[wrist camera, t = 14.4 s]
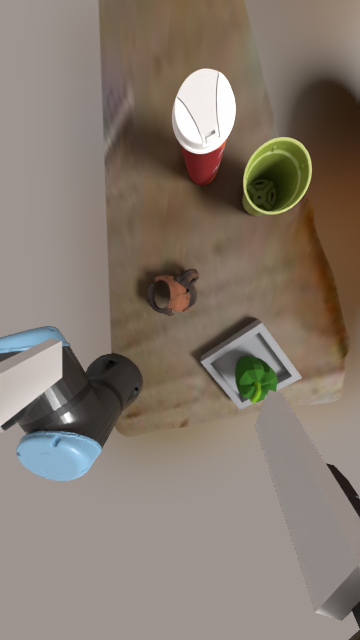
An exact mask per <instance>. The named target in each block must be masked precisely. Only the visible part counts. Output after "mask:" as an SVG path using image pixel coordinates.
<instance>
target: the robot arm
mask: <svg viewBox="0 0 360 640" xmlns="http://www.w3.org/2000/svg"><path fill="white" fill-rule="evenodd" d="M142 384H143V380H142V375H141V373H140V371H139V369H138V368H137V366H136V365H135V364H134V363H133V362H132V361H130V360H129V359H127V358H126V357H123V356H121V355H117V354H107V355H103V356H100V357H99V358H97V359H96V360H95V361H94V362H93V363H92V364H91V365H90V366H89V367H88V369H87V371H86V373H85V372H84V370H83V368H82V366H81V365H80V363H79V361H78V360H77V358H76V356H75V354H74V353H73V351H72V349H71V348H70V344H69V343H67V341H66V340H65V338H64V337H63V335H62V334H61V332H60V331H59V330H58V329H57V328H55V327H51V326H45V327H40V328H36V329H31V330H27V331H23V332H19V333H15V334H12V335H9V336H5V337H1V338H0V433H1V432H3V431H5V430H7V429H8V428H10V427H11V426H13V425H14V424H16V423H18V424H19V425H20V426H21V428H22V429H23V430H24V432H25V433H26V435H25V436H24V437H22V438H21V440H20V442H19V444H18V445H17V448H16V452H17V458H18V459H19V461H20V462H21V464H22V465H24V466H25V467H26V468H27V469H28V470H30V471H31V472H33V473H35V474H37V475H39V476H41V477H45V478H48V479H51V480H59V481H67V480H73V479H76V478H78V477H80V476H82V475H83V474H85V473H86V472H87V471H88V470H89V468H90V467H91V465H92V464H93V462H94V460H95V459H96V457H97V456H98V455H99V454H100V453H101V449H102V448H103V446H104V444H105V442H106V440H107V438H108V437H109V435H110V433H111V431H112V429H113V427H114V425H115V423H116V422H117V420H118V418H119V416H120V414H121V412H122V411H123V410H124V409H126V408H127V407H128V406H129V405H130V404H132V403H133V402H134V401H135V400H136V398H137V397H138V395H139V393H140V391H141V389H142ZM255 428H256V431H257V434H258V437H259V440H260V443H261V446H262V450H263V453H264V456H265V459H266V462H267V465H268V468H269V471H270V474H271V477H272V480H273V483H274V487H275V490H276V493H277V496H278V499H279V502H280V505H281V508H282V511H283V514H284V517H285V521H286V524H287V527H288V530H289V533H290V536H291V539H292V542H293V545H294V548H295V551H296V554H297V557H298V561H299V564H300V567H301V570H302V573H303V576H304V579H305V582H306V585H307V588H308V591H309V595H310V598H311V601H312V604H313V607H314V610H315V612H316V613H319V614H322V615H325V616H329V617H332V618H335V619H338V620H343V619H344V618H345V617H346V616H347V615H348V614H349V613H350V612H351V611H352V612H353V614H354V616H355V619H356V621H357V623H358V626H359V628H360V499H359V496H358V494H357V493H356V491H355V490H354V489H353V487H352V486H351V484H350V483H349V481H348V480H347V479H346V478H345V477H344V476H343V475H342V473H340V471H339V470H338V469H337V468H336V467H335V466H334V465H330V464H326V463H325V461H324V460H323V458H322V456H321V455H320V453H319V452H318V450H317V449H316V447H315V445H314V444H313V442H312V440H311V439H310V437H309V436H308V434H307V432H306V431H305V429H304V428H303V426H302V424H301V423H300V421H299V420H298V418H297V416H296V415H295V413H294V411H293V410H292V408H291V407H290V405H289V403H288V402H287V400H286V399H285V397H284V395H283V394H282V393H280V392H276V391H271V390H269V391H268V394H267V396H266V399H265V401H264V404H263V406H262V409H261V411H260V414H259V416H258V418H257V421H256V423H255ZM349 640H360V630H359V631H358V632H357V633H356V634H354V635H353V636H352V637H351V638H350V639H349Z"/></svg>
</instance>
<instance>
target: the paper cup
mask: <svg viewBox="0 0 360 640" xmlns="http://www.w3.org/2000/svg"><path fill="white" fill-rule="evenodd" d="M235 112H236V108H235V99H234V95H233V92H232V90H231V86H230V84H229V82H228V80H227V79H226V78H225V76H224V75H223V74H222V73H220V72H218V71H215V70H212V69H201V70H198V71H196V72H194V73H192V74H191V75H190V76H188V77H187V79H186V80H185V81H184V83H183V84H182V86H181V88H180V90H179V92H178V94H177V97H176V99H175V102H174V106H173V112H172V124H173V129H174V133H175V135H176V138H177V140H178V141H179V143H180V145H181V149H182V152H183V156H184V160H185V163H186V167H187V170H188V173H189V176H190V178H191V179H192V181H193V182H194V183H196V184H198V185H206V184H208V183H210V182H211V181H212V180H213V179H214V178H215V176H216V174H217V171H218V168H219V165H220V161H221V158H222V154H223V151H224V147H225V143H226V140H227V137H228V135H229V133H230V132H231V129H232V127H233V124H234V119H235Z"/></svg>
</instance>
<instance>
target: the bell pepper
mask: <svg viewBox="0 0 360 640" xmlns="http://www.w3.org/2000/svg"><path fill="white" fill-rule="evenodd" d="M235 378H236V379H235V382H236V386H237V389H238V391H239V394H240V395H242V396H243V397H245V398H248V399H250V401H251V402H252V403H255V402H258V401H261V400H263V399H264V398H265V395H267V394H268V391H269V390H271V391H276V389H277V376H276V373H275V372H274V370H273V369H272V368H271V367H270V366H269V365H268V364H267V363H266V362H265V361H263V360H262V359H260V358H255V357H254V356H249V355H246V356H244V357H241V358H240V359H239V360H238V361H237V363H236V369H235Z"/></svg>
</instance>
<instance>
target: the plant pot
mask: <svg viewBox="0 0 360 640" xmlns="http://www.w3.org/2000/svg"><path fill="white" fill-rule="evenodd" d="M311 167H312V166H311V160H310V157H309V154H308V152H307V150H306V149H305V148H304V146H303V145H302V144H301V143H300V142H298V141H296V140H295V139H292V138H287V137H281V138H275V139H272V140H270V141H268V142H266V143H265V144H263V145H262V146H261V147H259V148H258V149H257V150H256V151H255V153H254V154H253V155H252V157H251V158H250V160H249V161H248V163H247V166H246V169H245V172H244V177H243V189H244V194H243V200H242V201H243V206H244V209H245V210H246V211H247V212H248V213H249V214H250V215H253V216H261V215H264V214H278V213H282V212H284V211H286V210H288V209H290V208H291V207H293V206H294V205H295V204H296V203H297V202H298V201H299V200H300V199H301V198H302V197H303V195H304V194H305V192H306V190H307V188H308V186H309V183H310V179H311V171H312V168H311ZM259 182H262V183H263V184H258V185H256V183H259ZM271 193H273V200H272V201H271ZM259 196H261V198H260V199H258V197H259Z"/></svg>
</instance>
